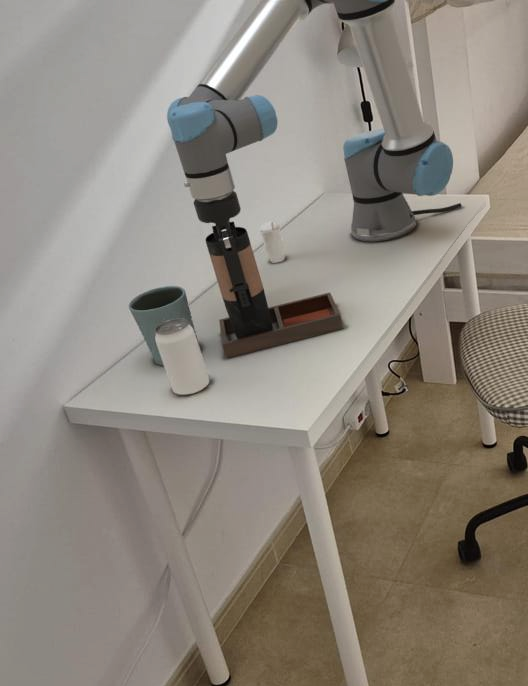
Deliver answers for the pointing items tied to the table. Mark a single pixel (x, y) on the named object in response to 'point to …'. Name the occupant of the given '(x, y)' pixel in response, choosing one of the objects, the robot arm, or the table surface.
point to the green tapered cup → (159, 313)
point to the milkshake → (272, 241)
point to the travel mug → (252, 280)
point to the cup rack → (287, 325)
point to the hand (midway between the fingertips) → (248, 310)
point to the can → (181, 356)
